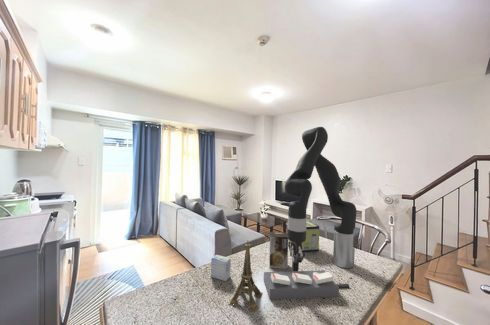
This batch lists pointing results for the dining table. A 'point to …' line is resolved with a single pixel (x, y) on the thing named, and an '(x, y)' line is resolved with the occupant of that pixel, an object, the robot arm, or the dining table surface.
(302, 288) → the switch panel
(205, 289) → the dining table surface
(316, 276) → the rocker
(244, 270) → the eiffel tower
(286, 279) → the block
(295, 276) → the block
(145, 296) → the dining table surface
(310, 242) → the protein box
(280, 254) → the coffee box
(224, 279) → the medicine box
